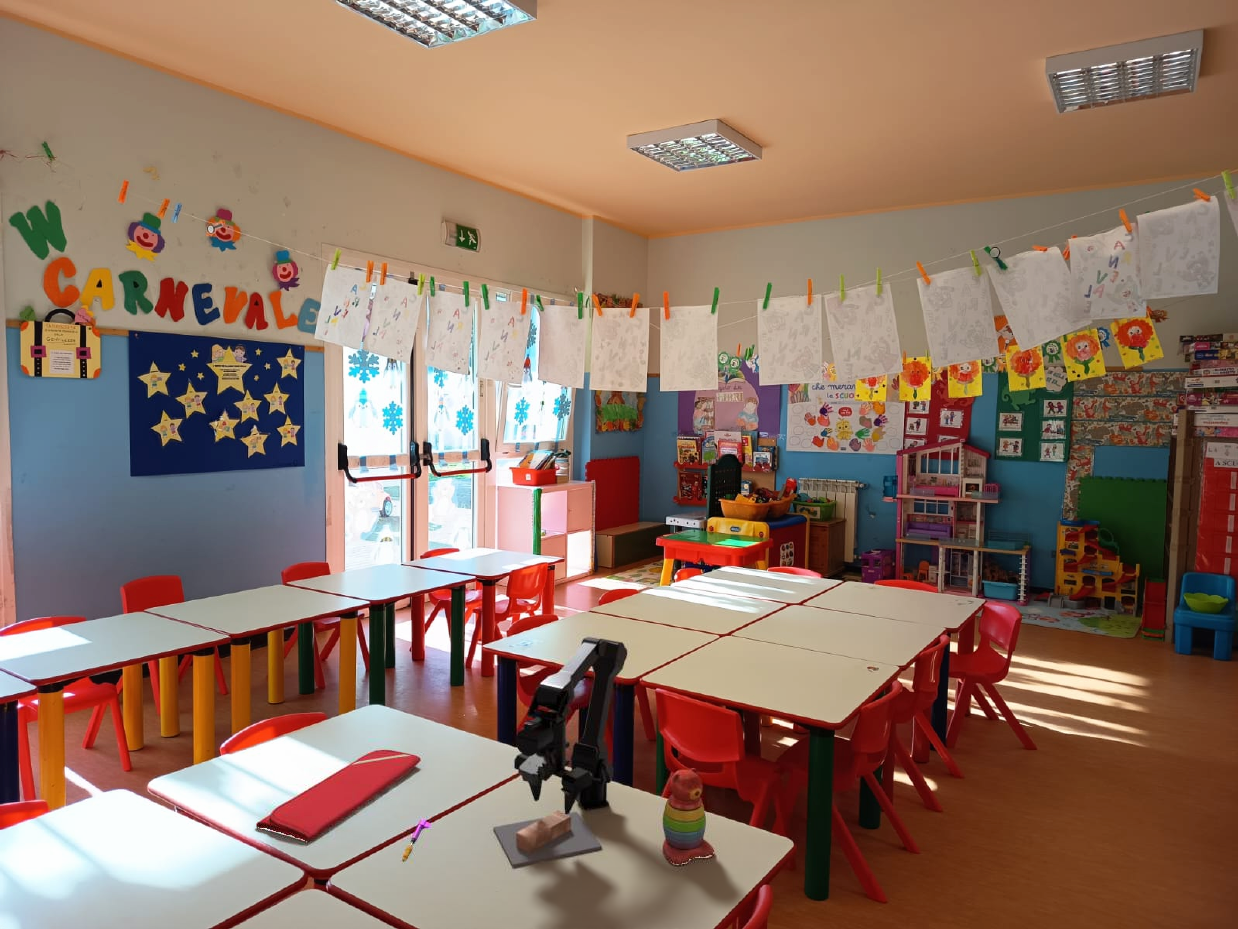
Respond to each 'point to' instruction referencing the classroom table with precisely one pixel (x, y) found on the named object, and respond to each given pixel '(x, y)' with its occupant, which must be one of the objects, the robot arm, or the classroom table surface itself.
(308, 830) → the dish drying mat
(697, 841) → the stacking bear
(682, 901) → the classroom table surface
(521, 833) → the terracotta block
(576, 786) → the robot arm
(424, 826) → the pink dart
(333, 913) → the classroom table surface
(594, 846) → the charcoal mat
